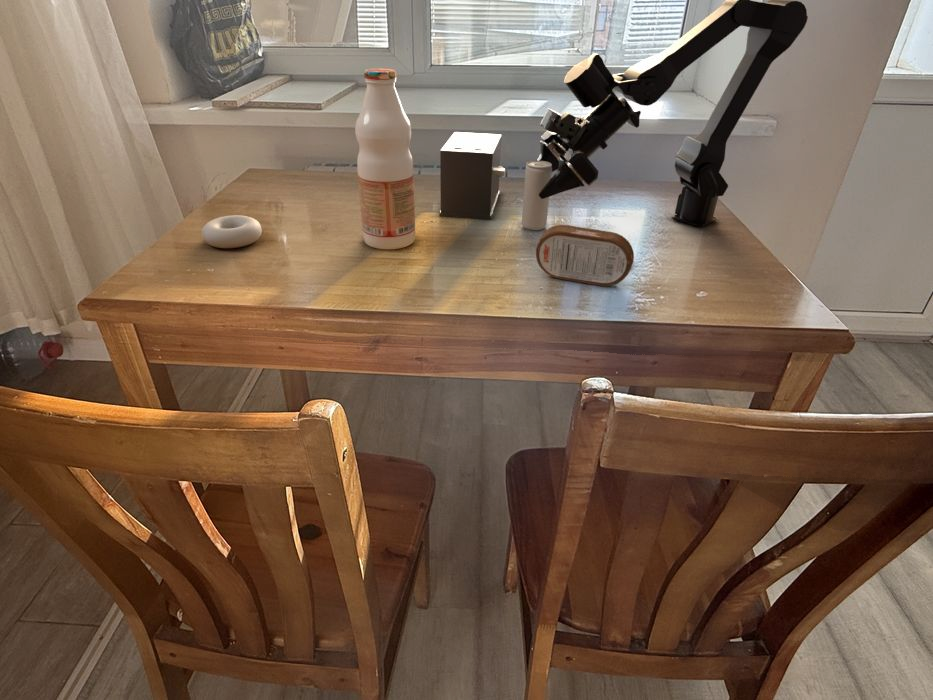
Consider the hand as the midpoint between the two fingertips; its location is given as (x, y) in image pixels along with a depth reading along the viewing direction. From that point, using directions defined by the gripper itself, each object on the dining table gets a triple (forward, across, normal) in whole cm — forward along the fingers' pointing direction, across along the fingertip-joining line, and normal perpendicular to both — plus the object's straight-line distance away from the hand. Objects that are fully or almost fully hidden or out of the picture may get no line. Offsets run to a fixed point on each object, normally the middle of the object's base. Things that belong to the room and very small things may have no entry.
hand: (533, 189), depth 108 cm
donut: (+44, +1, -33) cm, 55 cm away
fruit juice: (+25, +4, -14) cm, 29 cm away
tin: (+4, +24, +7) cm, 25 cm away
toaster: (+12, -14, -1) cm, 18 cm away
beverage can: (+5, 0, +6) cm, 8 cm away
